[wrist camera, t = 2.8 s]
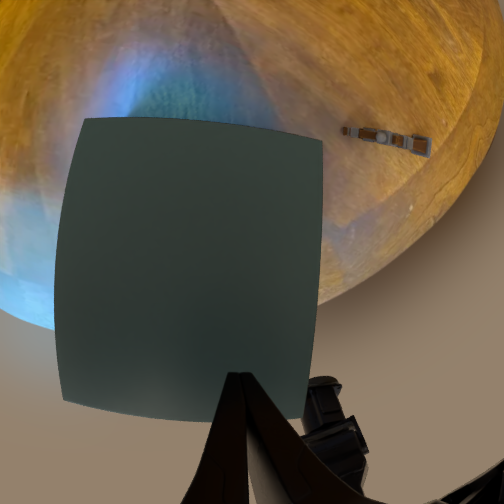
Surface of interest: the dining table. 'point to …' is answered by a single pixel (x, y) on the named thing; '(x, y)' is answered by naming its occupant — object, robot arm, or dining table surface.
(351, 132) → the toy rocket launcher
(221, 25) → the dining table surface
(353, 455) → the robot arm
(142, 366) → the lid
